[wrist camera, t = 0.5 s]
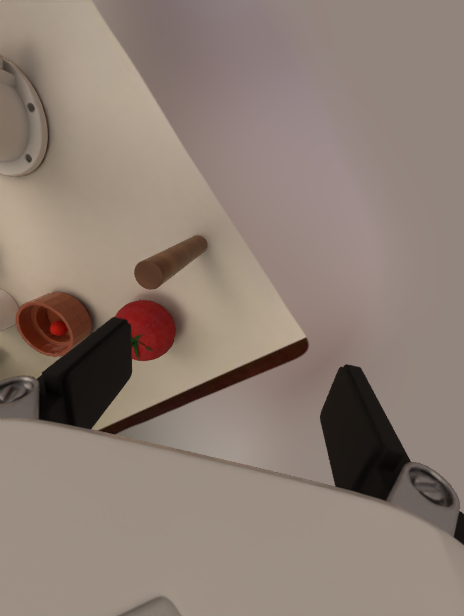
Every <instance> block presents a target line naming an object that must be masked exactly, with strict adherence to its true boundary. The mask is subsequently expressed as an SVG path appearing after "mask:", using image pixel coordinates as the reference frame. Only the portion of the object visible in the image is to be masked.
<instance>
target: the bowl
mask: <svg viewBox="0 0 464 616" xmlns="http://www.w3.org/2000/svg"><path fill="white" fill-rule="evenodd" d="M55 321H63V322H64V323H65V324H66V326H67V328H68V330H67V332H66V333H65V334H63V335H61V336H56V335H54V334H52V333H51V331H50V325H51V324H52V323H53V322H55ZM16 325H17V328H18V331H19V333H20V334H21V336H22V338H23V339H24V340H25V341H26V342H27V343H28V344H29V346H31V347H32V348H33V349H35V350H36V351H38V352H40V353H42V354H44V355H47V356H53V357H57V356H63V355H65V354H66V353H68V352H69V351H70V350H72V349H73V348H74V347H75V346H77V345H78V344H79V343H81V342H82V341H83V340H84V339H86V338H87V337H88V336H89V335H90V333H91V328H92V325H91V319H90V316H89V314H88V312H87V311H86V309H85V308H84V306H83V305H82V304H81V303H80V302H79V301H78V300H76V299H75V298H74V297H72V296H70V295H68V294H65V293H60V292H53V293H48V294H46V295H43V296H41V297H39V298H36V299H34V300H32V301H29V302H27V303H25V304H23V305H22V306H21V307H19V309H18V311H17V313H16Z"/></svg>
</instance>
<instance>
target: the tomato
mask: <svg viewBox="0 0 464 616" xmlns="http://www.w3.org/2000/svg"><path fill="white" fill-rule="evenodd" d="M115 317H116V318H121V319H126V320H127V321H128V323H130V324H131V336H132V359H134V360H138V361H148V360H153V359H156V358H158V357H160V356H162V355H163V354H165V353H166V352H167V351H168V350H169V349H170V348H171V346H172V344H173V342H174V338H175V333H176V327H175V323H174V320H173V318H172V316H171V315H170V313H169V312H168V311H167V310H166V309H165V308H164V307H162V306H161V305H159V304H157V303H155V302H152V301H147V300H139V301H135V302H131V303H129V304H127V305H125V306H124V307H123V308H121V309H120V310H119V311H118V313H117V314H116V316H115Z"/></svg>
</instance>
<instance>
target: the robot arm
mask: <svg viewBox="0 0 464 616" xmlns="http://www.w3.org/2000/svg"><path fill="white" fill-rule="evenodd" d="M47 142H48V129H47V122H46V117H45V113H44V110H43V107H42V104H41V102H40V99H39V97H38V95H37V93H36V91H35V90H34V88H33V86H32V85H31V83H30V81H29V80H28V79H27V78H26V76H25V75H24V74H23V73H22V71H20V70H19V69H18V68H17V67H16V66H15V65H14V64H13V63H12V62H10V61H9V60H7V59H6V58H4V57H3V56H0V174H1V175H6V176H23V175H27V174H29V173H31V172H33V171H34V170H35V169H36V168H37V167H38V166H39V165H40V163H41V162H42V160H43V158H44V155H45V152H46V148H47ZM131 374H132V336H131V324H130V323H128V321H127V320H126V319H121V318H116V317H113V318H111V319H110V320H109V321H107V322H106V323H105V324H104V325H102V326H101V327H100V328H98V329H97V330H96V331H95V332H93V333H92V334H91V335H89V336H88V337H87V338H86V339H84V340H83V341H82V342H81V343H79V344H78V345H77V346H75V347H74V348H73V349H72V350H70V351H69V352H68V353H66V354H65V355H64V356H63V357H61V358H60V359H59V360H57V361H56V362H55V363H54V364H52V365H51V366H50V367H48V368H47V369H46V370H45V371H43V372H42V375H41V376H40V377H39V378H37V379H36V378H34V377H30V376H16V377H11V378H8V379H4V380H2V381H0V616H464V514H463V513H462V512H460V511H459V509H460V502H459V498H458V496H457V494H456V492H455V491H454V489H453V488H452V486H451V485H450V484H449V483H448V482H447V481H446V480H445V479H444V478H443V477H442V476H441V475H440V474H438V473H437V472H436V471H434V470H433V469H431V468H429V467H428V466H426V465H423V464H420V463H416V462H411V461H410V459H409V457H408V456H407V454H406V452H405V450H404V448H403V446H402V444H401V442H400V440H399V439H398V437H397V435H396V433H395V431H394V429H393V427H392V425H391V424H390V422H389V420H388V418H387V416H386V414H385V412H384V410H383V409H382V407H381V405H380V403H379V401H378V399H377V398H376V395H375V394H374V392H373V390H372V388H371V386H370V384H369V382H368V380H367V378H366V377H365V375H364V373H363V371H362V369H361V368H360V367H356V366H352V365H345V366H344V367H340V368H339V370H338V372H337V374H336V377H335V379H334V382H333V384H332V387H331V389H330V391H329V394H328V396H327V399H326V401H325V404H324V406H323V409H322V411H321V415H320V421H321V425H322V430H323V434H324V438H325V443H326V447H327V451H328V456H329V460H330V465H331V469H332V474H333V478H334V482H335V487H334V486H331V485H327V484H323V483H319V482H315V481H311V480H307V479H303V478H298V477H295V476H290V475H286V474H282V473H278V472H273V471H269V470H265V469H261V468H257V467H253V466H248V465H244V464H240V463H236V462H231V461H227V460H223V459H218V458H214V457H210V456H205V455H201V454H197V453H192V452H188V451H183V450H180V449H175V448H171V447H166V446H162V445H158V444H153V443H149V442H144V441H140V440H136V439H131V438H126V437H122V436H118V435H113V434H109V433H105V432H100V431H95V430H91V429H92V427H93V426H94V425H95V423H96V422H97V421H98V419H99V418H100V417H101V416H102V414H103V413H104V412H105V410H106V409H107V408H108V406H109V405H110V404H111V402H112V401H113V400H114V398H115V397H116V396H117V395H118V393H119V392H120V391H121V389H122V388H123V387H124V385H125V384H126V383H127V381H128V380H129V379H130V377H131Z"/></svg>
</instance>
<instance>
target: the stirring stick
mask: <svg viewBox="0 0 464 616" xmlns="http://www.w3.org/2000/svg"><path fill="white" fill-rule="evenodd" d="M206 248H207V242H206V240H205V239H204V238H203V237H202V236H200V235H196V236H193V237H191V238H189V239H187V240H185V241H183V242H181V243H179V244H177V245H175V246H172V247H170V248H168V249H166V250H164V251H162V252H160V253H158V254H156V255H154V256H152V257H150V258H148V259H145V260H143V261H141V262H139V263H138V264H137V266H136V267H135V272H134V273H135V278H136V280H137V282H138V283H139V284H140V285H141V286H142V287H144V288H146V289H156V288H158V287H159V286H161V285H162V284H163V283H164V282H166V281H167V280H168V279H170V278H171V277H172V276H173V275H175V274H176V273H177V272H179V271H180V270H181V269H182V268H184V267H185V266H186V265H188V264H189V263H190V262H192V261H193V260H194V259H195V258H197V257H198V256H199V255H201V254H202V253H203V252H204V251H205V250H206Z"/></svg>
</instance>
